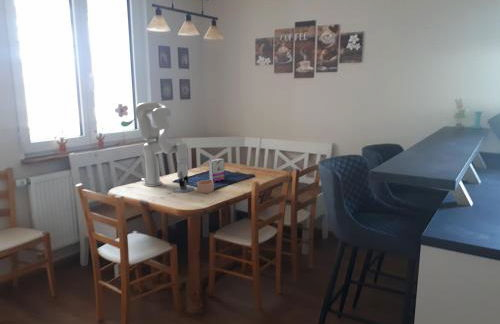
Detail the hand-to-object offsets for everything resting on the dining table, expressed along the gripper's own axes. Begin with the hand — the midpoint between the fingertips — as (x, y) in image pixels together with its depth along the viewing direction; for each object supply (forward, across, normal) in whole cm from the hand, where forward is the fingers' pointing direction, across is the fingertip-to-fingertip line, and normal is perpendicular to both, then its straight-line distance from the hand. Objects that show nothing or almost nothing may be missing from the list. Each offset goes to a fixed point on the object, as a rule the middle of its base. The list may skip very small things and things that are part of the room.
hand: (183, 184), depth 277 cm
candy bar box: (+4, -26, +18) cm, 32 cm away
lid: (+4, 0, 0) cm, 4 cm away
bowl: (+4, +1, +16) cm, 16 cm away
